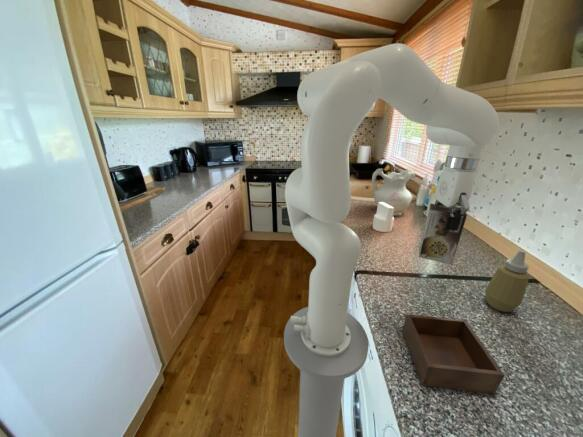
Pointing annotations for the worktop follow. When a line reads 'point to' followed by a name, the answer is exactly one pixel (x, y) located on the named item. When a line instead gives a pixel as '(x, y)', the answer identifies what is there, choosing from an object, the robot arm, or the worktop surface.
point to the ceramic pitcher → (393, 189)
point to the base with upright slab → (383, 217)
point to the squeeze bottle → (508, 284)
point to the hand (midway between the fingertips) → (443, 223)
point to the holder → (450, 355)
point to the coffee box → (440, 235)
